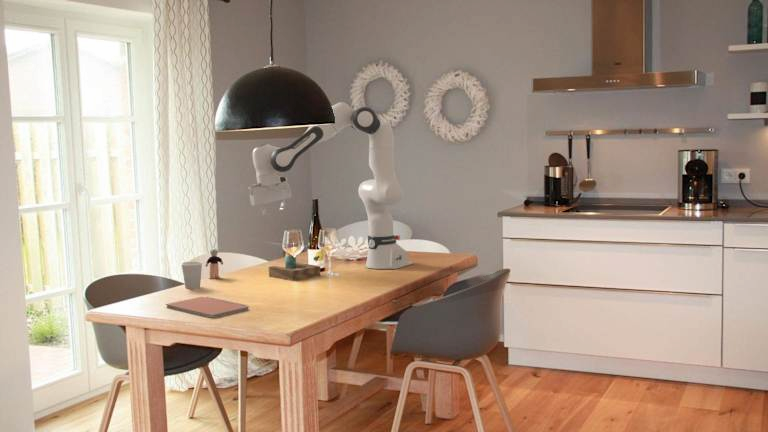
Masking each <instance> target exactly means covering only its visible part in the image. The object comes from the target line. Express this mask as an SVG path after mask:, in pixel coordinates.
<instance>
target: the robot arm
mask: <svg viewBox="0 0 768 432" xmlns="http://www.w3.org/2000/svg"><path fill="white" fill-rule="evenodd" d="M331 107H332V109H333V113H334V116H335V124H330V125H318V126H310V125H309V126H308V128H307V129H306V131H305V132H304V133H303V134H302V135H300V136H299V137H298V138H297V139H295V140H294V141H293V142H292V143H290V144H289V145H286V146H285V147H278V146H274V145H271V144H269V143H264V144H260V145H258V146H256V147H254V149H253V151H252V154H251V155H252V162H253V165H254V167H253V168H254V169H255V173H256V174H255V175H256V181H257V183H255V184H251V185H250V186H249V187H248V192H249V200H250V205H251V206H252V207H257V206H258V207H259V209H260V211H261V212H262V215H263V216H264V215H265V216H266V215H269V212H268V209H266V208H265V205H266V204H270V203H274V202H278V201H280V202H279V203H281V204H280V205H279V210H280V211H284V210H286V206H285V205H286V199H289V198H290V199H291V197H292V190H291V186H290V183H289V182H288V176H283V175H278V174H277V172H279V173H286V172H289V170H291V169H292V168H293V166H294V164H295V162H296V161H297V159H298V158H299V157H300V156H301V155H303V154H304V153H305V152H306V151H308V150H309V149H310V148H312V147H313V146H315V145H317V144H319V143H322V142H325V141H327V140H329V139H331V138H333V137H334V136H335V135H337V134H338V133H340V132H341V131H342V130H343V129H344V128H346V127H351V128H353V130H355V131H357V132H359V133H363V134H364V133H365V134H367V136H368V139H369V144H368V145H369V146H368V148H369V149H368V154H369V155H368V166H369V168H370V169H371V171H372V174H373V177H374V179H366V180H363V181H362V182H361V183H359V187H358V190H357V191H358V196H359V198H360V199H361V201H362V203H363V205H364V208H365V212H366V215H367V221H368V222H367V224H368V235H367V245H368V247H367V256H366V262H365V267H366V268H368V269H375V270H385V269H386V270H388V269H390V270H392V269H393V270H397V269H401V268H404V267H406V266H410V265H413V264H414V263H413V262H414V261H412V260H408V254H407V253H408V252H407V250H405V249H404V248H403V247H401V246H400V244H398V243H397V241H399V240H400V239H401V236H400V235H397V234H396V235H395V234H394V219H393V216H392V214H391V213H390V211H389V209H388V206H393V205H397V204H399V203H400V202H401V201H402V199H403V197H404V190H403V188H402V185H401V184H400V183H399V182H398V179H397V175H396V171H395V137H394V136H395V135H394V131H393V130H394V129H393V127H392V126H391V125H389V124H387V123H384V122H381V121H380V119H379V118H378V115H377V113H376V112H375V111H374V109H372V108H371V107H369V106H361V107H359V108H357V109H353V108H351V106H350V105H349V104H348V103H345V102H343V101H342V102H341V101H340V102H337V103H336V104H333V105H332V106H331Z"/></svg>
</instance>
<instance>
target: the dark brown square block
mask: <svg viewBox="0 0 768 432" xmlns="http://www.w3.org/2000/svg"><path fill="white" fill-rule="evenodd" d="M320 276H321V266H320V265H314V264H308V263H303V262H297V261H296V269H290V268H285V266H278V265H273V266H268V277H272V278H276V279H277V278H278V279H282V280H287V281H292V282H294V281H295V282H296V281H298V280H299V281H300V280H304V279H310V278H313V277H314V278H315V277H320Z"/></svg>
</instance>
